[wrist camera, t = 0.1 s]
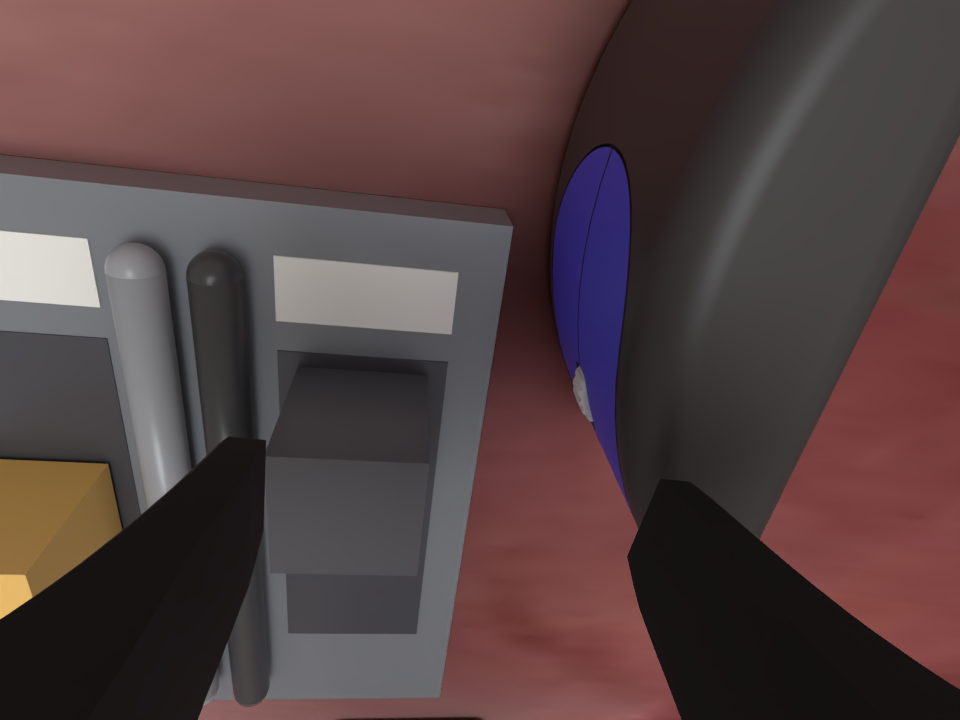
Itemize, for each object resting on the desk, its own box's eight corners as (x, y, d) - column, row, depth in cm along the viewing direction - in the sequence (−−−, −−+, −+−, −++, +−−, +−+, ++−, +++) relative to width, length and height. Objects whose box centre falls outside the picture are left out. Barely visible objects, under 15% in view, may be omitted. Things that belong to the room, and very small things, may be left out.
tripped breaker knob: (127, 553, 21) (58, 672, 17) (3, 550, 20) (-99, 673, 16) (107, 463, 19) (24, 574, 15) (-29, 458, 18) (-153, 571, 14)
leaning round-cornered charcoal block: (618, -159, 14) (887, -435, 6) (788, -120, 15) (1241, -322, 7) (509, 399, 22) (562, 617, 14) (625, 408, 22) (744, 621, 14)
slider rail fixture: (438, 657, 28) (442, 810, 23) (35, 657, 26) (-73, 830, 20) (504, 208, 18) (542, 284, 13) (-149, 138, 16) (-471, 192, 10)
